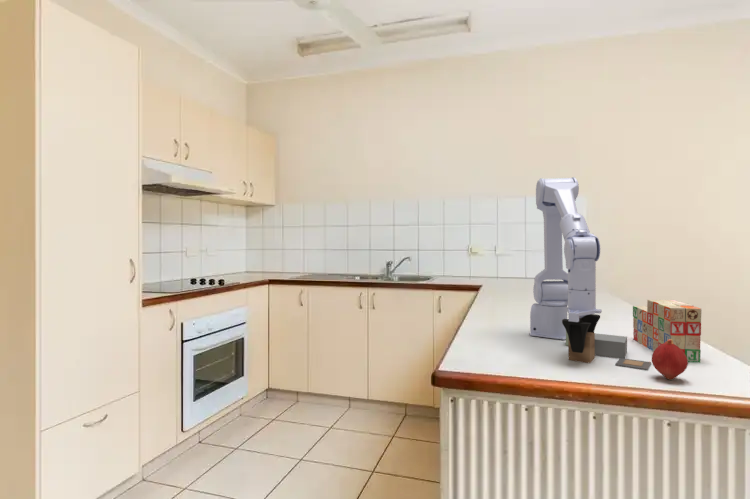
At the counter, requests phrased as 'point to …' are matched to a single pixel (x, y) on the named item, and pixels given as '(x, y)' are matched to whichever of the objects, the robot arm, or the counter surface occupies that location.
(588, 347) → the walnut block
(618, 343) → the slate base block
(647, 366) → the card
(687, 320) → the stack of blocks
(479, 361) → the counter surface
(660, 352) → the onion
